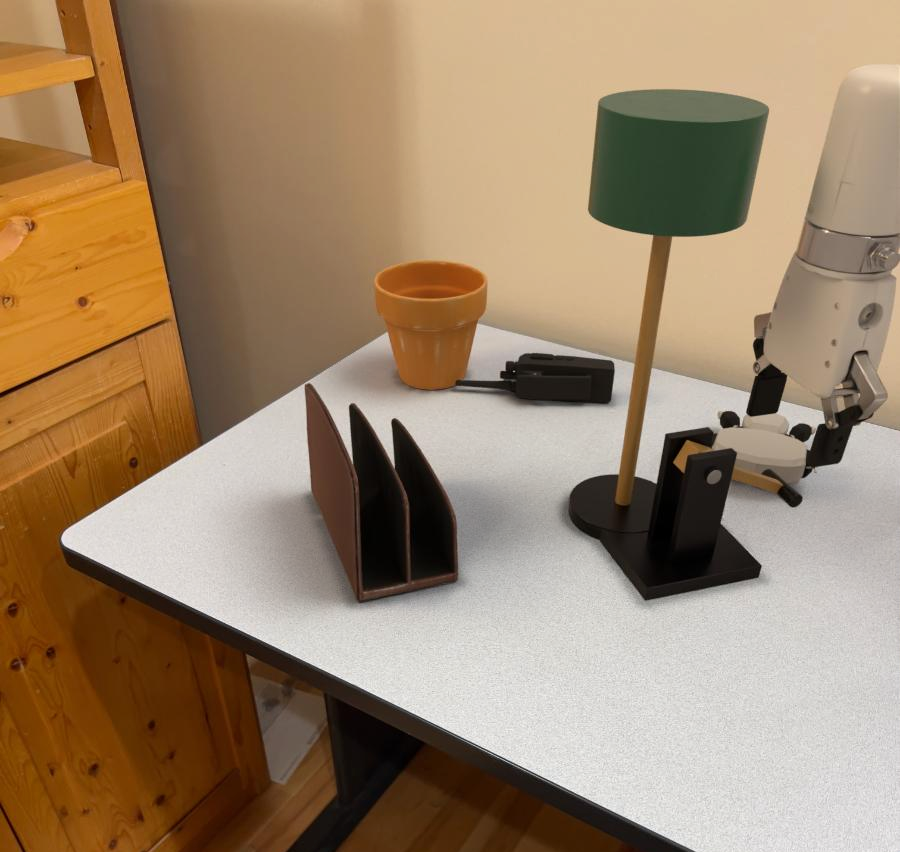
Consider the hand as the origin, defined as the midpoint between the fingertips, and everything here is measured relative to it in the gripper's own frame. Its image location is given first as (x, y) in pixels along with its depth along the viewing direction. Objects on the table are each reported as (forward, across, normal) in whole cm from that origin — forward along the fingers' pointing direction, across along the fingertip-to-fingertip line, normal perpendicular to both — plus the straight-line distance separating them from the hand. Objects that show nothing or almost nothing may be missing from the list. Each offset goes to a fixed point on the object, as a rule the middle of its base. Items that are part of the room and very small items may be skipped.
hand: (790, 437), depth 81 cm
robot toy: (+12, +14, -8) cm, 20 cm away
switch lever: (+4, 0, +5) cm, 7 cm away
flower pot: (+12, +46, +21) cm, 52 cm away
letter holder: (+13, +12, +36) cm, 40 cm away
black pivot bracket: (+12, 0, +9) cm, 15 cm away
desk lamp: (+12, +9, +11) cm, 18 cm away
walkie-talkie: (+10, +34, +11) cm, 37 cm away
